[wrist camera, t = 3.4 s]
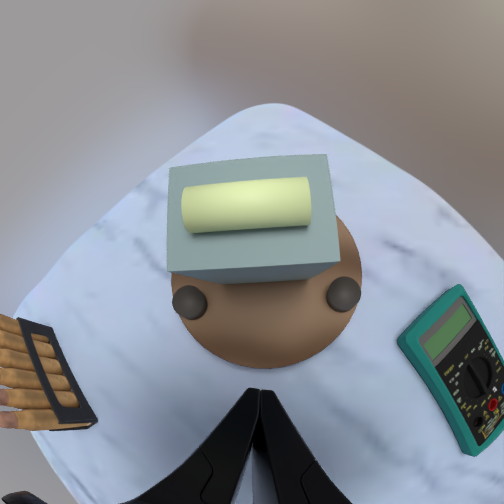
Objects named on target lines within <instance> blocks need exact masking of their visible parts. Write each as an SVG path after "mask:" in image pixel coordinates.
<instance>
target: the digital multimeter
mask: <svg viewBox="0 0 504 504" xmlns="http://www.w3.org/2000/svg"><path fill="white" fill-rule="evenodd" d="M398 345H399V347H400V348H401V349H402V351H403V352H404V353H405V355H406V356H407V357H408V359H409V360H410V362H411V363H412V364H413V366H414V367H415V369H416V370H417V371H418V373H419V374H420V376H421V377H422V378H423V380H424V381H425V383H426V384H427V386H428V388H429V389H430V391H431V392H432V394H433V395H434V397H435V399H436V400H437V402H438V404H439V405H440V407H441V408H442V410H443V412H444V414H445V416H446V418H447V420H448V422H449V424H450V426H451V428H452V430H453V432H454V434H455V436H456V438H457V440H458V443H459V445H460V447H461V449H462V452H463V453H464V454H467V455H470V456H473V457H476V456H477V455H479V454H480V453H481V452H482V451H483V450H485V449H486V448H487V447H488V446H489V445H490V444H491V443H492V442H493V441H494V440H495V439H496V438H497V437H498V436H499V435H500V434H501V432H502V431H503V430H504V360H503V358H502V356H501V355H500V353H499V351H498V349H497V347H496V345H495V343H494V341H493V339H492V337H491V335H490V334H489V332H488V330H487V328H486V326H485V325H484V323H483V321H482V319H481V317H480V315H479V314H478V312H477V310H476V308H475V306H474V305H473V303H472V301H471V299H470V298H469V296H468V294H467V293H466V291H465V289H464V288H463V286H462V285H461V284H457V285H455V286H454V287H452V288H451V289H449V290H447V291H446V292H445V293H444V294H443V295H441V296H440V297H439V298H438V299H437V300H436V301H434V302H433V303H432V304H431V305H430V306H429V307H428V308H427V309H426V310H425V311H424V312H423V313H421V314H420V315H419V316H418V317H417V318H416V320H415V321H414V322H413V323H412V324H411V325H410V326H409V327H408V328H407V329H406V330H405V331H404V332H403V333H402V334H401V335H400V336H399V338H398ZM435 368H436V369H435ZM438 373H439V374H438ZM441 378H442V379H441ZM442 380H443V381H442ZM444 383H445V384H444ZM445 385H446V386H445ZM448 390H449V391H448ZM452 397H453V398H452ZM466 397H467V398H466ZM477 400H478V401H477ZM456 404H457V405H456ZM457 406H458V407H457ZM462 415H463V416H462ZM463 417H464V418H463ZM464 419H465V420H464Z"/></svg>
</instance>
